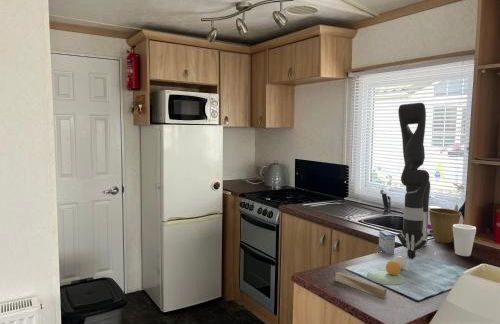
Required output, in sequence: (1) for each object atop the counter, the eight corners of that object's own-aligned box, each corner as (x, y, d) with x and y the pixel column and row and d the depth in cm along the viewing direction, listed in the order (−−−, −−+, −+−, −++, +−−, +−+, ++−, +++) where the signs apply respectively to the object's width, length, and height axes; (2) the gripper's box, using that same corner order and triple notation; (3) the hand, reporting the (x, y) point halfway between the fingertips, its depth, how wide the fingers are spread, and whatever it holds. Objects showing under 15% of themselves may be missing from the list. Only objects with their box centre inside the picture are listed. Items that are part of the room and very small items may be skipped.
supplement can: (443, 235, 212) (444, 208, 211) (427, 234, 214) (428, 207, 212) (439, 232, 220) (440, 205, 219) (423, 231, 222) (424, 205, 220)
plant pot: (442, 246, 193) (443, 214, 191) (421, 238, 207) (422, 208, 206) (466, 244, 196) (468, 213, 195) (444, 236, 211) (446, 207, 209)
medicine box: (378, 248, 188) (379, 230, 187) (387, 248, 188) (387, 230, 187) (385, 253, 180) (386, 235, 179) (394, 253, 180) (395, 235, 180)
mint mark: (361, 271, 156) (361, 271, 156) (395, 271, 157) (395, 270, 157) (375, 285, 142) (375, 284, 142) (412, 284, 143) (412, 284, 143)
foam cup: (469, 258, 174) (471, 230, 173) (448, 253, 181) (449, 226, 180) (477, 254, 180) (479, 226, 179) (456, 249, 187) (457, 223, 186)
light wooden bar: (338, 279, 147) (339, 271, 147) (386, 297, 132) (386, 288, 132) (335, 280, 146) (335, 272, 146) (383, 298, 131) (383, 290, 130)
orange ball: (387, 268, 157) (380, 265, 154) (397, 260, 156) (391, 256, 152) (394, 279, 153) (388, 276, 150) (405, 271, 152) (399, 267, 148)
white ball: (395, 256, 164) (393, 269, 162) (392, 253, 160) (391, 266, 158) (408, 258, 161) (407, 272, 159) (406, 255, 157) (405, 268, 155)
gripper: (393, 215, 162) (391, 256, 164) (424, 222, 152) (422, 265, 154) (402, 213, 167) (401, 252, 169) (433, 219, 157) (431, 260, 159)
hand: (411, 258), depth 161 cm, fingers closed
